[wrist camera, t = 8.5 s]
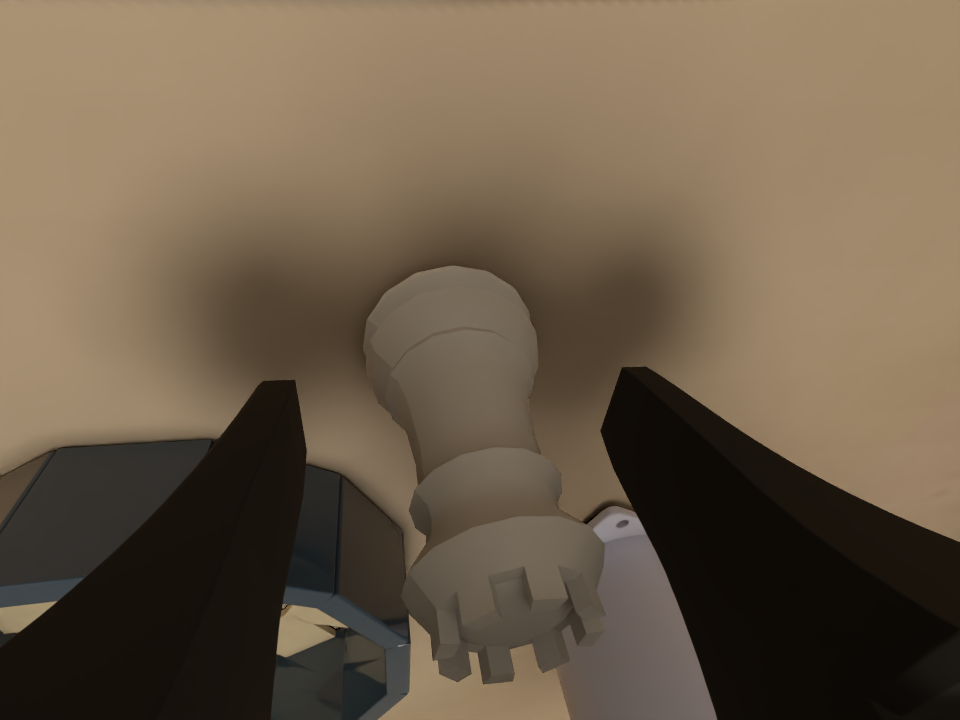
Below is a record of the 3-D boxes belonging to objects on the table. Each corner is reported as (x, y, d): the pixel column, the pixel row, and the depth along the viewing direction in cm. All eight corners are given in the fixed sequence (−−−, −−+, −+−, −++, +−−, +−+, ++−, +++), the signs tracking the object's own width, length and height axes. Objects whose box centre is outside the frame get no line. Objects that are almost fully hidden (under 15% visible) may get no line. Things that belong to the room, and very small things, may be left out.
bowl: (475, 511, 18) (497, 619, 15) (308, 682, 24) (299, 785, 21) (-28, 369, 11) (-180, 515, 8) (-88, 658, 17) (-189, 805, 14)
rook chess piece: (340, 374, 13) (318, 717, 7) (397, 230, 11) (439, 534, 5) (483, 409, 15) (567, 705, 9) (556, 289, 13) (735, 569, 7)
